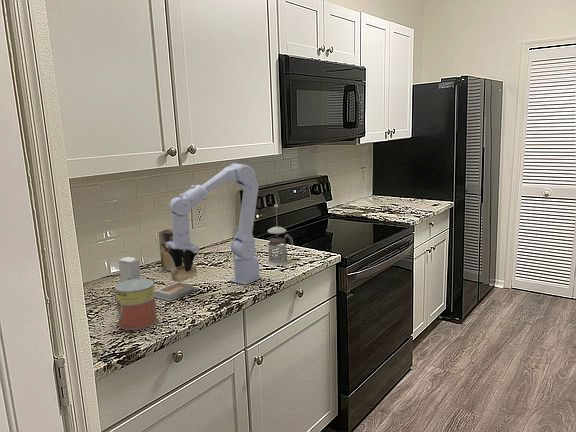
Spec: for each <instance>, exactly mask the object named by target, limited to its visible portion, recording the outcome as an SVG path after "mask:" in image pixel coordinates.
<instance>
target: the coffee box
mask: <svg viewBox="0 0 576 432" xmlns="http://www.w3.org/2000/svg"><path fill="white" fill-rule="evenodd" d="M158 241H159V254H160V263H161V265H160V266H161V270H162V271H167V272H171V269H173V268H176V267H175V264H174V261H173V259H172V257H171V255H170V254H169V252H168V251H169V250H171V248H166V242H169V241H172V242H173V230H172V228H171V229H170V228H168V229H163V230H161V231H159V232H158ZM183 252H185V250H183ZM182 265H184V260H183V257H182Z"/></svg>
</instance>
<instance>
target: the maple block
mask: <svg viewBox="0 0 576 432" xmlns="http://www.w3.org/2000/svg"><path fill="white" fill-rule="evenodd" d="M170 272H171V280H172V281H174V282H184V281H187V280H189V279H192V278H194V277H197V276H198V275H197V273H198V272H197V264H193V263H192V268H191V270H190V271H188V272H186V271H185V266H184V265H182V266H179V267H176V268H173V269H171V271H170Z"/></svg>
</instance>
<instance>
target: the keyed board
mask: <svg viewBox="0 0 576 432" xmlns="http://www.w3.org/2000/svg"><path fill="white" fill-rule="evenodd" d="M199 290H200V287H199V288H198V287H194V284H192V283H187V282H184V281H182V282H177V281H175V282H174V283H171V284H169V285H166V286H163V287H161V288H159V289H158V288H157V289H156V290H155V289H154V292H155V299H158V300H161V301H164V302H168V303H170V302H173V301H175V300H177V299H180V298H182V297H184V296H187V295H189V293H190V294H192V293H194V292H196V291H199Z"/></svg>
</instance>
